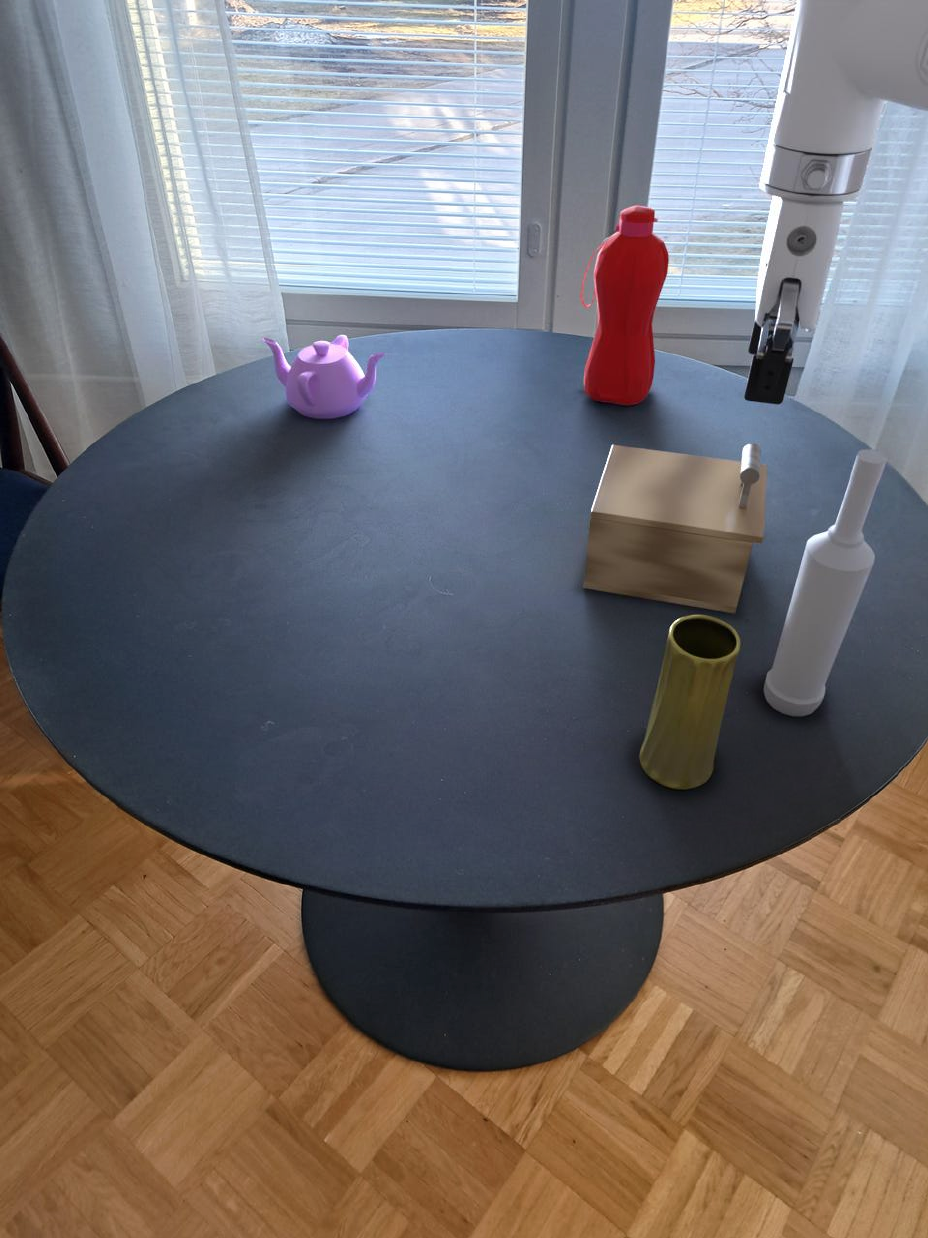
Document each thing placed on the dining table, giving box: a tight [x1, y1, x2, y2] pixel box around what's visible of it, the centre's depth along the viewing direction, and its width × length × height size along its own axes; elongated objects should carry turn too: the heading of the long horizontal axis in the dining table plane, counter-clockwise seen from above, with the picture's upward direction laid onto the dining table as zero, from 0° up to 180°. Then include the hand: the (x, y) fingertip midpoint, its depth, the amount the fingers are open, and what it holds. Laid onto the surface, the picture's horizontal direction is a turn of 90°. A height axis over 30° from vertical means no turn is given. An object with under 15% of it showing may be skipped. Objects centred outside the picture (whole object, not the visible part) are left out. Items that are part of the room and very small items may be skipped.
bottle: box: [763, 448, 888, 717], centre depth 71 cm, size 5×5×25 cm
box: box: [582, 517, 754, 615], centre depth 92 cm, size 16×14×9 cm
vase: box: [639, 614, 741, 791], centre depth 69 cm, size 6×6×14 cm
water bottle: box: [580, 205, 670, 407], centre depth 118 cm, size 9×11×25 cm
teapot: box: [262, 334, 387, 420], centre depth 121 cm, size 12×14×9 cm
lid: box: [589, 442, 768, 545], centre depth 87 cm, size 16×14×5 cm
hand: (763, 376), depth 78 cm, fingers open, 9 cm apart
